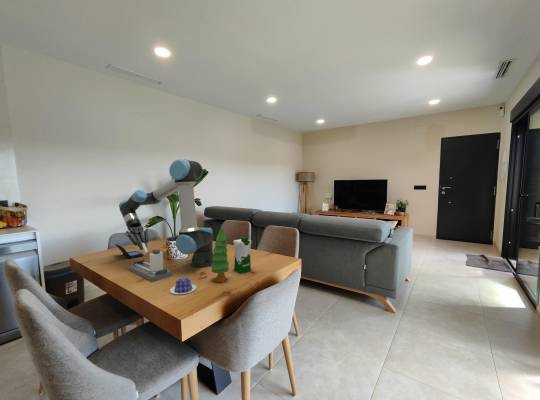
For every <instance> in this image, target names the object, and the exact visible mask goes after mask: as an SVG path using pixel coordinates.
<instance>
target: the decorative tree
mask: <svg viewBox="0 0 540 400" xmlns="http://www.w3.org/2000/svg"><path fill="white" fill-rule="evenodd" d="M227 239H228V238H227V236H226V232H225V230H224V224H223V223H221V226H220V229H219V231H218V234H217V236H216V238H215V240H216V241H215V242H214V248H213V253H214V255H213V257H212V260H213V262H212V265H211V266H210V268H211V272H212V273H213V274H217V275H216V278H215V282H216V283H217V282H218V283H224V282H225V281H226V280H227V277H226V275H225V274H226V273H228V272H229V270H230V268H229V265H230V262H229V260H228V248H227V246H228V242H227Z"/></svg>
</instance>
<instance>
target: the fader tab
mask: <svg viewBox="0 0 540 400" xmlns="http://www.w3.org/2000/svg"><path fill="white" fill-rule="evenodd" d="M148 257H149V262H150V270H151V271H155V272H156V271H160V270H161V269H163V268H164V252H163V251H161V250H160V249H159V248H158V249H152V252H151V253H149V256H148Z"/></svg>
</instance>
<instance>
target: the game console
mask: <svg viewBox="0 0 540 400" xmlns="http://www.w3.org/2000/svg"><path fill="white" fill-rule="evenodd" d="M115 246H116V247H117V248H118V249H119V251H120V252H121V253H122V256H124V257H127V259H129V260H132V259H135V258H136V259H137V258H142V257H144V253H143V252H139V251H137V250H134V251H128V252H127V250H126V249H125V248H124V247H123V246H121V245H119V244H117V243H115ZM131 258H132V259H131Z"/></svg>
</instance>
